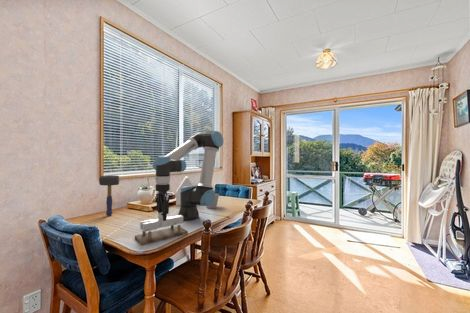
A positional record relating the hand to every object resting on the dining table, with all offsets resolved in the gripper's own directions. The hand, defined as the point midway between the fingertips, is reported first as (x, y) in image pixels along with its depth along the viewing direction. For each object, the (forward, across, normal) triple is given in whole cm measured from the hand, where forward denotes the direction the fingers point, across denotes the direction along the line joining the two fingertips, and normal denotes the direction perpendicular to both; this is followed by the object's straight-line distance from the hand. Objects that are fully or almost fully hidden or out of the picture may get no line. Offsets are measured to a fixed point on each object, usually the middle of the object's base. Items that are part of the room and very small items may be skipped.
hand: (162, 225), depth 122 cm
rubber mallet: (+6, -64, -15) cm, 66 cm away
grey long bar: (+1, 0, 0) cm, 1 cm away
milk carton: (+6, -66, +50) cm, 84 cm away
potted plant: (+6, -38, +59) cm, 71 cm away
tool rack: (+6, 0, 0) cm, 6 cm away
